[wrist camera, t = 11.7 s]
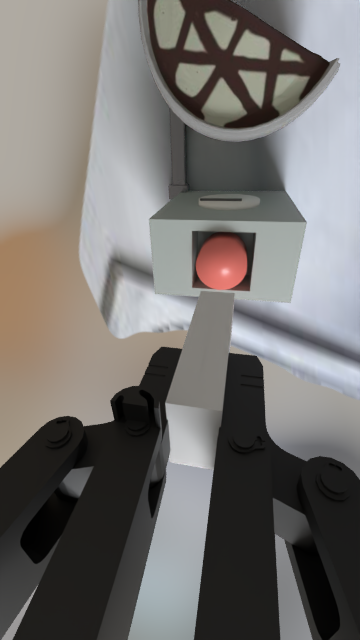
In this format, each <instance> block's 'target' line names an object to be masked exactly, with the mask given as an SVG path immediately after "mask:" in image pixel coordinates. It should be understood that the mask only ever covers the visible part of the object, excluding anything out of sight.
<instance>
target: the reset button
mask: <svg viewBox="0 0 360 640" xmlns="http://www.w3.org/2000/svg"><path fill="white" fill-rule="evenodd" d="M196 271H197V274H198V277H199V278H200V280H201V281H202V282H203V283H204V284H205V285H207V286H208V287H210V288H213V289H217V290H226V289H230V288H233V287H235V286H236V285H238V284H239V283H240V282H241V281H242V280H243V278H244V276H245V274H246V271H247V248H246V245H245V243H244V242H243V240H242V239H241V238H240V237H239V236H237V235H236V234H234V233H231V232H217V233H214V234H212V235H211V236H209V237H208V238H207V239H206V240H205V241H204V243H203V245H202V247H201V250H200V252H199V255H198V257H197V260H196Z"/></svg>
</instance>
